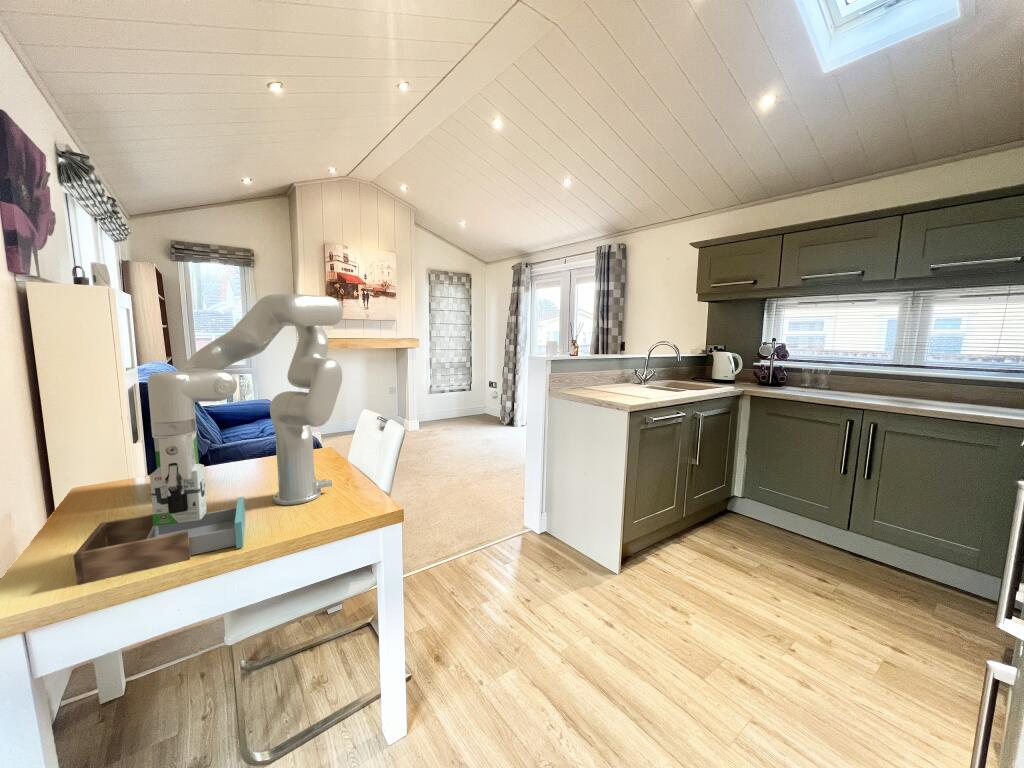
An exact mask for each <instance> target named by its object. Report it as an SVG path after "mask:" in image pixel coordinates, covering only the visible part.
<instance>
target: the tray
mask: <svg viewBox="0 0 1024 768" xmlns="http://www.w3.org/2000/svg"><path fill="white" fill-rule="evenodd" d="M245 510H246V509H245V498H244V496H239V497H237V503H236V507H233V508H228V509H227V508H226V509H223V510H217V511H212V512H210V511H209V512H206V513H205V515H204V516H203V517H202V519H201V520H197V521H190V522H182V523H175V524H167V525H160V526H153V527H152V529H151V531H150V533H149V535H148V536H147V538H146V539H150V538H155V537H160V536H165V535H170V534H175V533H180V532H185V531H188V534H189V545H190V556H194V555H198V554H203V553H207V552H213V551H216V550H221V549H225V548H230V547H234V546H236V549H240V548H244V542H245V541H244V540H245V526H246V513H245V512H246V511H245Z"/></svg>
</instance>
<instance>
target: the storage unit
mask: <svg viewBox="0 0 1024 768" xmlns="http://www.w3.org/2000/svg"><path fill="white" fill-rule="evenodd" d="M153 526H154V525H153V513H149V514H145V515H137V516H133V517H127V518H121V519H120V518H119V519H115V520H114V519H113V520H110V521H109V520H108V521H102V522H100V523H99V524H98V525H97V527H96V528H95V529H94V530H93V531H92V532H91V534H90V535H89V536H88V538H86V540H85V541H84V542H83V543H82V544H81V546H80V547H79V548H78V549H77V550H76V552H74V554H73V563H74V564H73V565H74V570H75V571H74V572H75V579H76V585H77V584H79V585H82V584H87V582H88V583H91V582H96V581H100V580H105V579H110V578H113V577H117V576H123V575H127V574H132V573H135V572H140V571H144V570H149V569H153V568H157V567H159V568H160V567H163V566H166V565H167V566H168V565H171V564H176V563H180V562H184V561H189V560H191V556H192V555H190V545H189V534H188V531H185V532H180V533H175V534H170V535H165V536H160V537H155V538H150V539H146V538H147V536H148V535H149V533H150V531H151V529H152V527H153Z"/></svg>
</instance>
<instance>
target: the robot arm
mask: <svg viewBox="0 0 1024 768" xmlns="http://www.w3.org/2000/svg"><path fill="white" fill-rule="evenodd" d="M343 317H344V308H343V306H342V303H341V302H340V301H339V300H338V299H337V298H335V297H334V296H330V295H310V294H301V293H279V294H278V293H273V294H267V295H265V296H263V297H262V298H260V299H259V300H258V301H257V302H256V303H255V304H254V305H253V306H252V307H251V308H250V309H249V310H248V312H246V314H245V315H244V316H243V317H242V318H241V319H240V320H239V321H238V322H237V323H236V324H235V326H234V327H233V328H231V329H230V330H229V331H228V332H226V333H224V334H222V335H220V336H218V337H217V338H216V339H214V340H213V341H211V342H210V343H208V344H206V345H204V346H203V347H201V348H199V350H197V351H196V352H195V353H194V354H193V355H192V356H191V357H189V359H187V361H185V362H184V364H183V365H181V367H180V368H179V369H178V371H160V372H153V373H151V374H150V375H148V378H147V391H148V402H149V413H150V427H151V436H152V438H153V439H154V438H159V449H160V465H161V475H162V481H163V482H164V483H167V484H168V496H167V498H168V510H169V513H170V514H173V513H179V512H185V511H187V510H188V503H187V493H185V480H184V479H187V480H190V479H192V470H193V468H194V466H195V464H196V460H195V452H194V443H193V437H192V434H195V433H196V434H197V420H196V419H197V418H196V408H195V407H196V404H195V403H198V402H202V403H203V402H204V403H205V402H211V403H212V402H213V403H214V402H216V403H217V402H222V401H225V400H227V399H229V398H231V397H232V396H233V395H234V394H235V392H236V391H237V389H238V383H237V380H236V378H235V376H234V375H232V374H231V373H230V372H227V371H225V369H227V368H228V367H229V366H231V365H233V364H235V363H238V362H240V361H243V360H247V359H249V358H252V357H254V356H257V355H260V354H261V353H262V352H264V351H265V350H266V348H268V346H269V345H270V344H271V342H272V341H273V340H274V339H275V337H277V335H278V334H279V333H280V332H281V331H282V330H283V328H284V327H287V326H288V327H295V329H296V331H297V335H298V337H297V338H298V339H297V344H296V348H295V350H294V352H293V356H292V359H291V362H290V364H289V368H288V372H287V381H288V383H289V384H290V385H291V386H293V387H295V388H298V389H306V390H308V392H305V391H292V390H289V391H288V390H287V391H283V392H280V393H278V394H276V395H275V396H274V397H273V399H272V400H271V402H270V404H269V405H270V406H269V413H270V419H271V421H272V424H273V425H272V426H273V429H274V435H275V447H276V448H275V451H276V463H277V464H276V466H277V482H278V485H277V486H278V491H277V492H276V493H275V494H273V496H272V500H273V503H275V504H276V505H281V506H292V505H299V504H304V503H308V502H311V501H313V500H316V499H317V498H318V496H319V495H320V496H321V494H322V489H323V488H329V487H333V480H331V479H328V480H327V479H319V480H318V479H317V478H316V476H315V458H314V457H315V455H314V454H315V453H314V438H313V433H312V430H311V428H317V427H322V426H324V425H325V424H326V423H328V422H329V419H331V417H332V414H333V412H334V409H335V406H336V403H337V399H338V396H339V394H340V390H341V389H340V388H341V386H342V381H343V370H342V367H341V365H340V364H339V362H338V361H337V360H335V359H333V358H330V357H327V355H328V351H329V347H330V342H329V338H328V335H327V333H326V331H325V329H324V327H325V326H326V327H327V326H328V327H329V326H330V327H331V326H335V325H337V324H339V323H340V322H341V320H342V319H343ZM166 477H167V478H166ZM180 477H182V480H177V478H180ZM165 478H166V479H165ZM178 483H181V486H180V485H178ZM320 496H319V497H320ZM315 498H316V499H315Z"/></svg>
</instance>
